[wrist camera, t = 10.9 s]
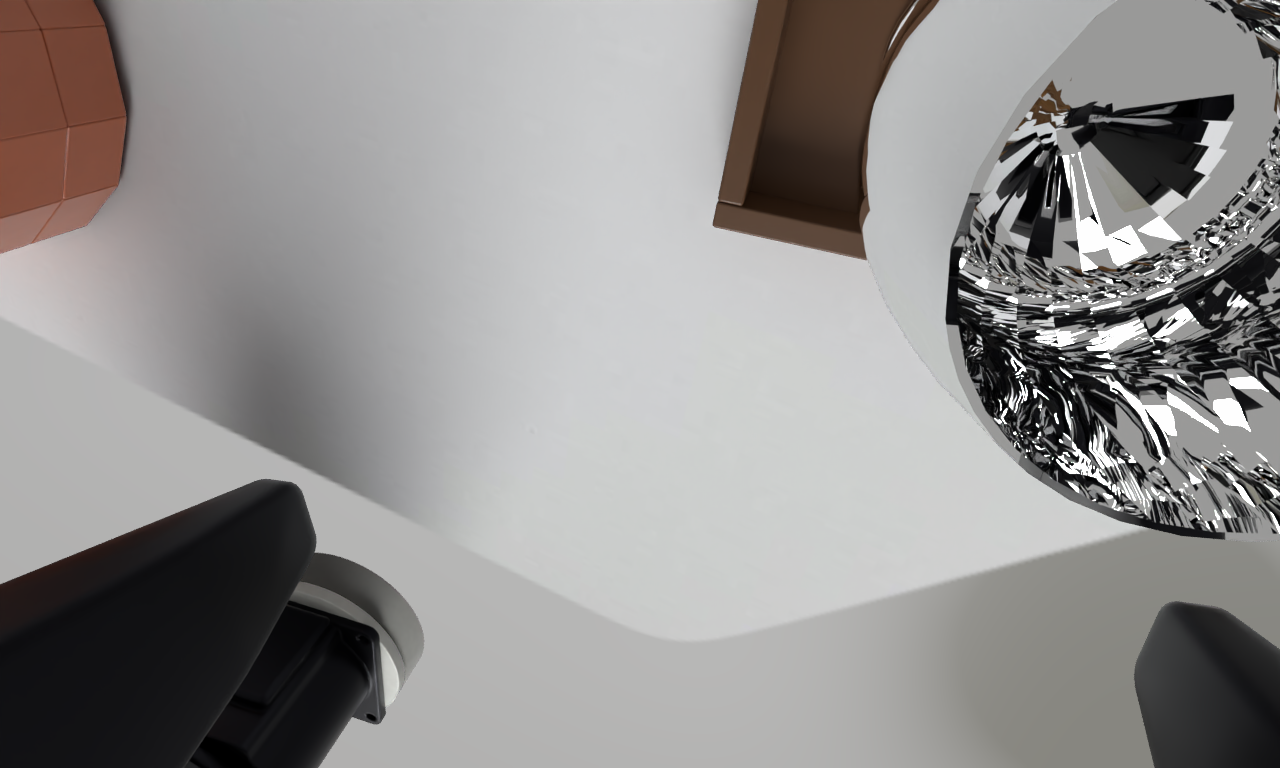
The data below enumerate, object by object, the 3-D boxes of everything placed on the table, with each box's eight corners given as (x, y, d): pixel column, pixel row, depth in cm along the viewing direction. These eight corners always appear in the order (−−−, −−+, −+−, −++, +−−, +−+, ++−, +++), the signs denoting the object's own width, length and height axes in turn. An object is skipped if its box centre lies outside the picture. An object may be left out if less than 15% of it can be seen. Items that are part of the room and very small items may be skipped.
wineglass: (831, -42, 14) (815, -95, 4) (1162, -141, 13) (2505, -645, 2) (863, 228, 17) (900, 599, 7) (1144, 179, 15) (1775, 590, 5)
